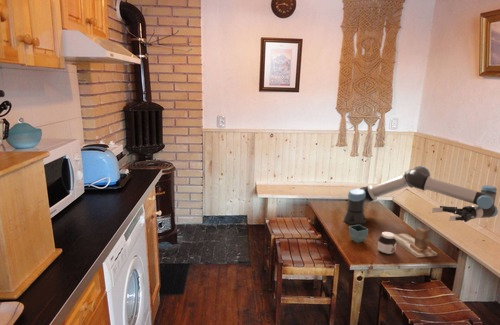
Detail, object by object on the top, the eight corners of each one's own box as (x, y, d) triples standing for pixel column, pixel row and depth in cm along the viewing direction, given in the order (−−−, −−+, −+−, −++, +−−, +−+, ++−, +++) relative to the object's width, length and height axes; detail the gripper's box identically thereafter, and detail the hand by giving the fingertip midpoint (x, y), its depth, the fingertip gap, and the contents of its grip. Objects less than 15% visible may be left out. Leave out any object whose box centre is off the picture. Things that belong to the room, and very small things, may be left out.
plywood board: (417, 257, 193) (417, 255, 193) (388, 236, 220) (388, 234, 219) (436, 255, 195) (437, 253, 195) (406, 235, 222) (406, 233, 222)
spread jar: (384, 256, 193) (386, 238, 191) (370, 248, 204) (372, 230, 201) (400, 253, 198) (402, 234, 196) (385, 244, 208) (387, 227, 206)
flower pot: (347, 239, 216) (348, 226, 214) (358, 237, 219) (359, 224, 217) (356, 245, 208) (357, 231, 206) (367, 242, 211) (368, 229, 209)
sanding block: (417, 252, 195) (420, 232, 192) (409, 247, 202) (412, 227, 199) (431, 251, 197) (434, 231, 194) (423, 246, 204) (425, 226, 201)
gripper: (489, 226, 190) (456, 228, 186) (454, 210, 214) (425, 212, 210) (491, 213, 188) (458, 216, 184) (456, 199, 212) (427, 201, 208)
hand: (441, 214), depth 197 cm, fingers open, 13 cm apart
